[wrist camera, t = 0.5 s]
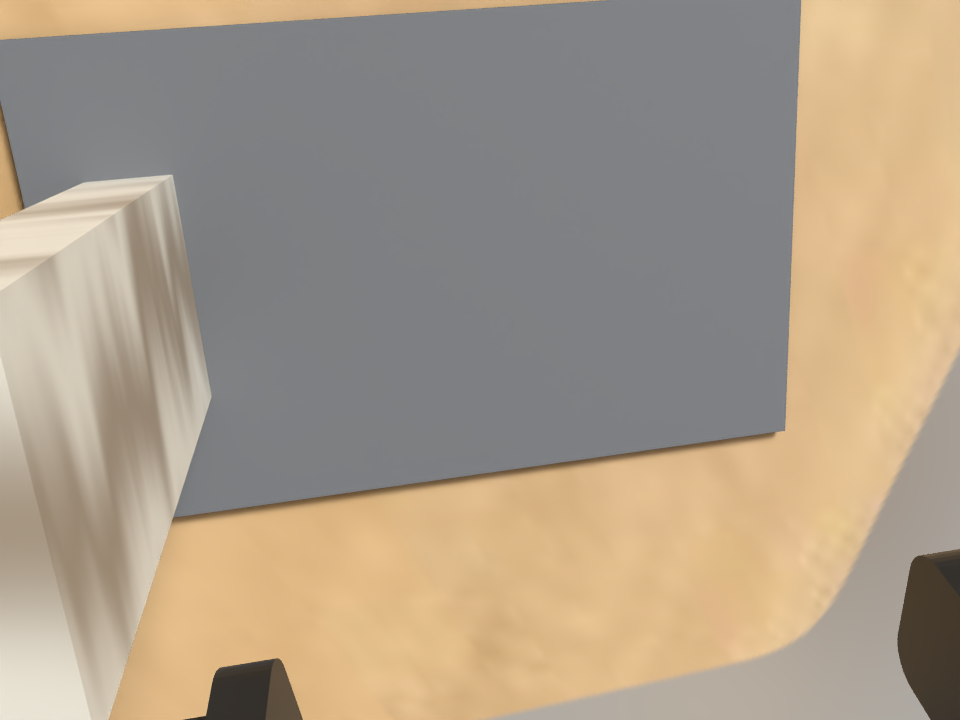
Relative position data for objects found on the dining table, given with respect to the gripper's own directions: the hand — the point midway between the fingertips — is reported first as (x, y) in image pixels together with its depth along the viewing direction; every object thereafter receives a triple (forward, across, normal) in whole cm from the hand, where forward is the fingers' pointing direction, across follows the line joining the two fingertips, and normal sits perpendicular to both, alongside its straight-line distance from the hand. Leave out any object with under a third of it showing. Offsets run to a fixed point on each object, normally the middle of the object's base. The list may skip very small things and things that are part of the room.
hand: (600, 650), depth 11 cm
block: (+18, +10, +2) cm, 20 cm away
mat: (+19, +1, +3) cm, 19 cm away
